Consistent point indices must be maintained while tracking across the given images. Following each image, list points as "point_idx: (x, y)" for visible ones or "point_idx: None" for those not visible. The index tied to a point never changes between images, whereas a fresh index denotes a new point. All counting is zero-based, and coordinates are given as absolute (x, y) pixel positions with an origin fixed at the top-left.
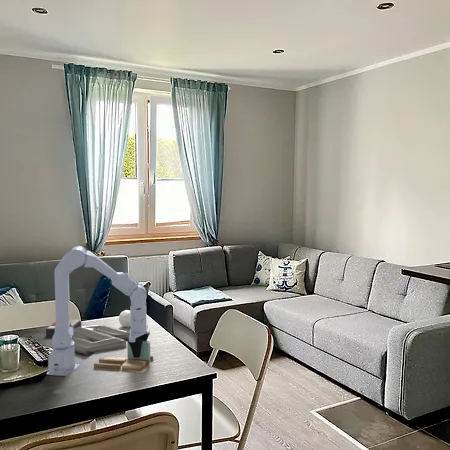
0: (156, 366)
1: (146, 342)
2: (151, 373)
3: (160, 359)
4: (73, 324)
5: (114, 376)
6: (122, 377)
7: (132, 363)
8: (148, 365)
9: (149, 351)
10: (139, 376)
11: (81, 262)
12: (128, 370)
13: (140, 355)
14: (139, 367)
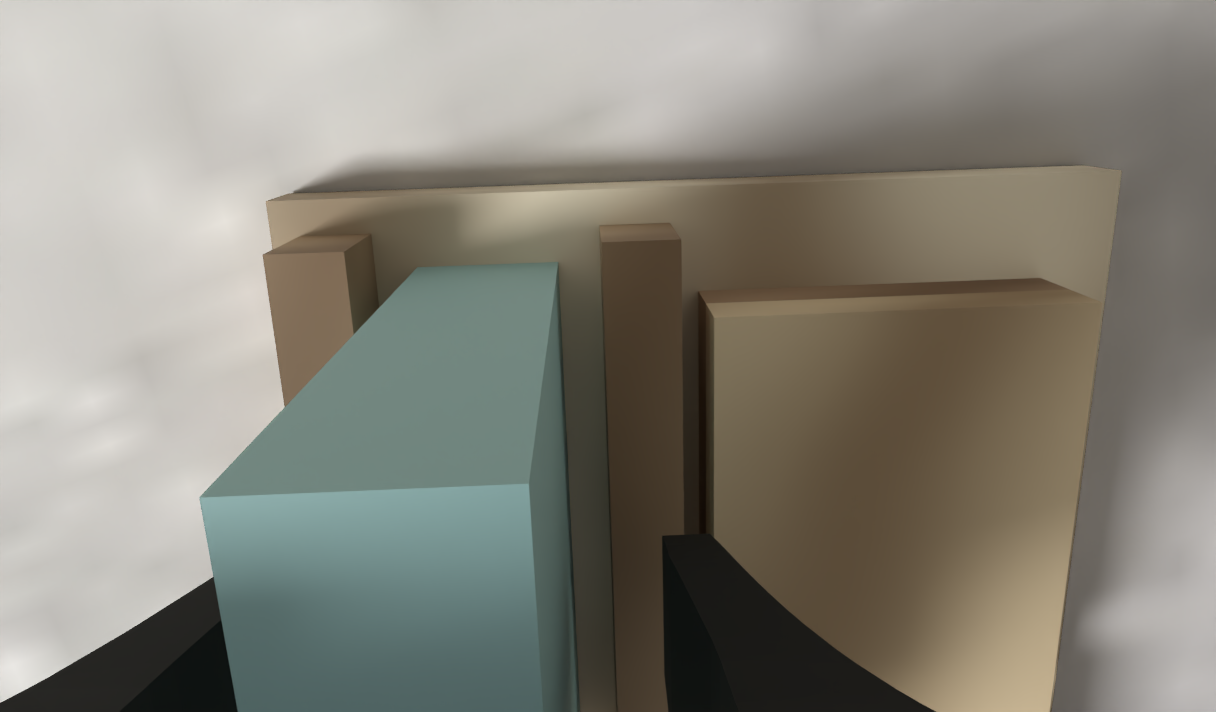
0: (529, 58)
1: (417, 634)
2: (958, 33)
3: (70, 112)
4: None
5: (1151, 700)
6: (1194, 553)
7: (912, 577)
8: (679, 223)
9: (443, 342)
10: (1137, 248)
11: None
12: None
13: (565, 552)
14: (1087, 333)
